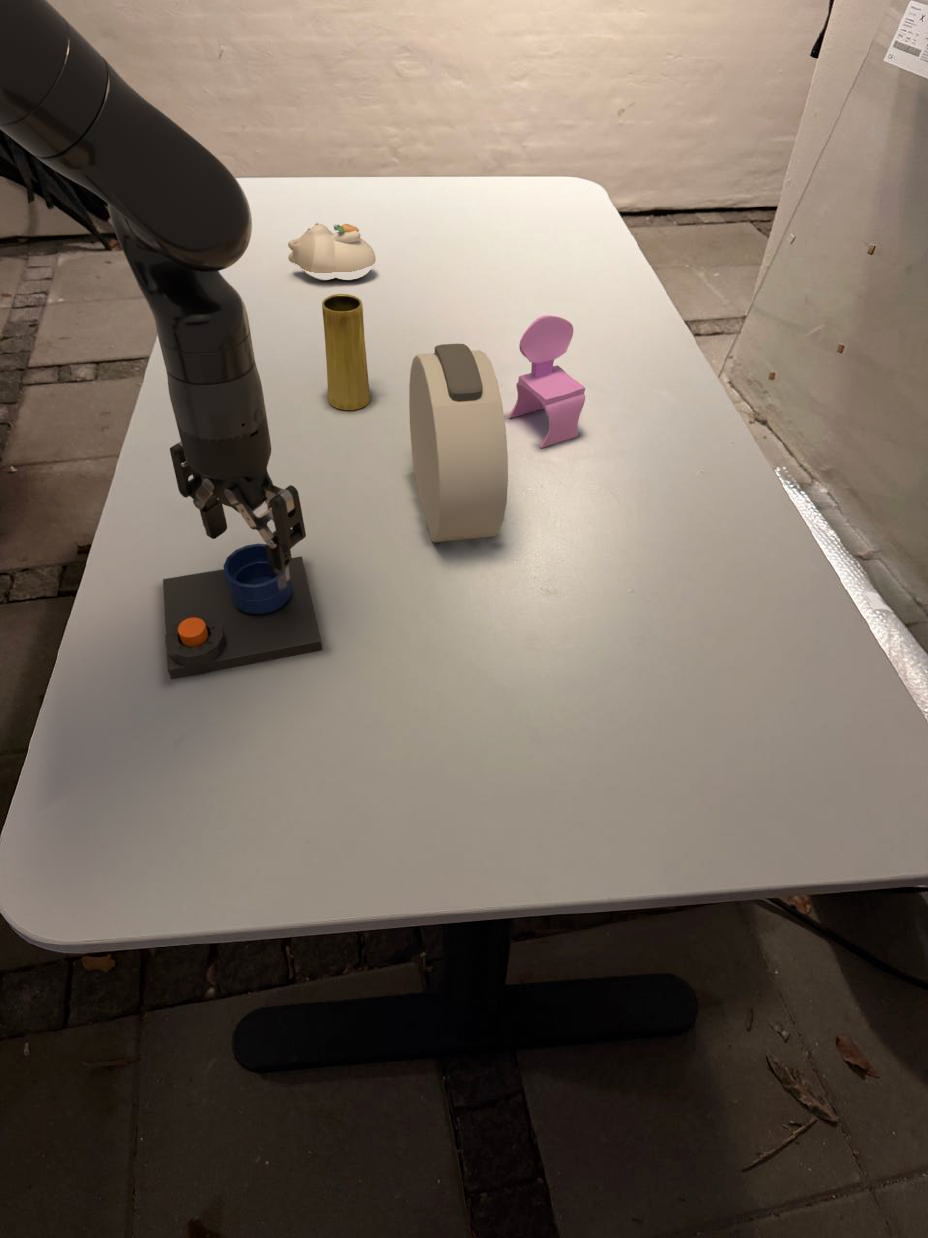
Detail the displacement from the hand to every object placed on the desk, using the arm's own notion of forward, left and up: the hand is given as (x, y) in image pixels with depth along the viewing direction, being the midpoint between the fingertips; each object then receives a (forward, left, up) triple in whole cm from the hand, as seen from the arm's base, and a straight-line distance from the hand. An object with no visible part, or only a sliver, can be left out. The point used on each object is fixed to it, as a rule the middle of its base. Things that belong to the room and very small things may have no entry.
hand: (248, 550), depth 78 cm
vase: (+17, +37, -8) cm, 42 cm away
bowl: (0, 0, -6) cm, 6 cm away
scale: (-2, -2, -8) cm, 8 cm away
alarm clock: (+25, +11, -8) cm, 28 cm away
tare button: (-7, -6, -5) cm, 10 cm away
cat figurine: (+22, +77, -8) cm, 80 cm away
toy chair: (+42, +24, -8) cm, 49 cm away
